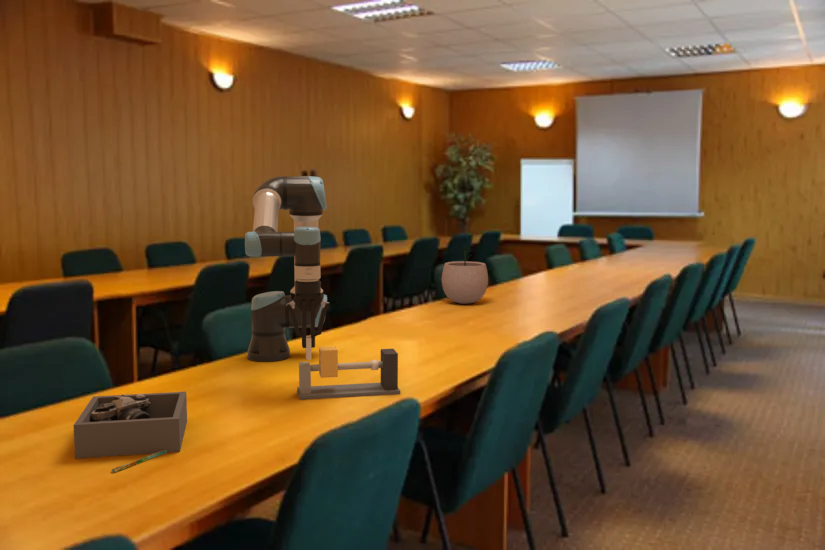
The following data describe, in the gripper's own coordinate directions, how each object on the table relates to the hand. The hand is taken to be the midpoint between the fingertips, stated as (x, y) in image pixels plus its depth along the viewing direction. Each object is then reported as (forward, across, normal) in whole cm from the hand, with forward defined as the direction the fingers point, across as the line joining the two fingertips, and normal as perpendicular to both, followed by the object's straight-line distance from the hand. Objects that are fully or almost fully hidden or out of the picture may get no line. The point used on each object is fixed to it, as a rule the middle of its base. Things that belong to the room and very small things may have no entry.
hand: (308, 358), depth 223 cm
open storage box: (+11, -45, -30) cm, 55 cm away
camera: (+11, -47, -28) cm, 56 cm away
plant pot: (+11, +92, +150) cm, 177 cm away
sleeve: (+5, +6, 0) cm, 8 cm away
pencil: (+12, -41, -45) cm, 62 cm away
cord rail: (+11, +12, 0) cm, 16 cm away
